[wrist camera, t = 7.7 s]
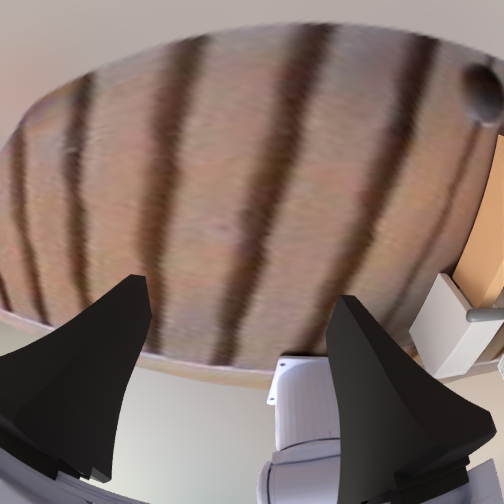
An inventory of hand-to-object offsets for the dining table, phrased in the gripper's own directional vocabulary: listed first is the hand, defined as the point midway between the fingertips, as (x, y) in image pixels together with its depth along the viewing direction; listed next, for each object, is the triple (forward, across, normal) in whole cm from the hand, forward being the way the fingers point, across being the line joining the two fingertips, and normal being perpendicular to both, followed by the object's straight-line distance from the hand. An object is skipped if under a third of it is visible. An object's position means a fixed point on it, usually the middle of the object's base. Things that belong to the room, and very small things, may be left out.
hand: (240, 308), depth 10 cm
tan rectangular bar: (+9, -19, -3) cm, 21 cm away
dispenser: (+9, -19, +7) cm, 22 cm away
